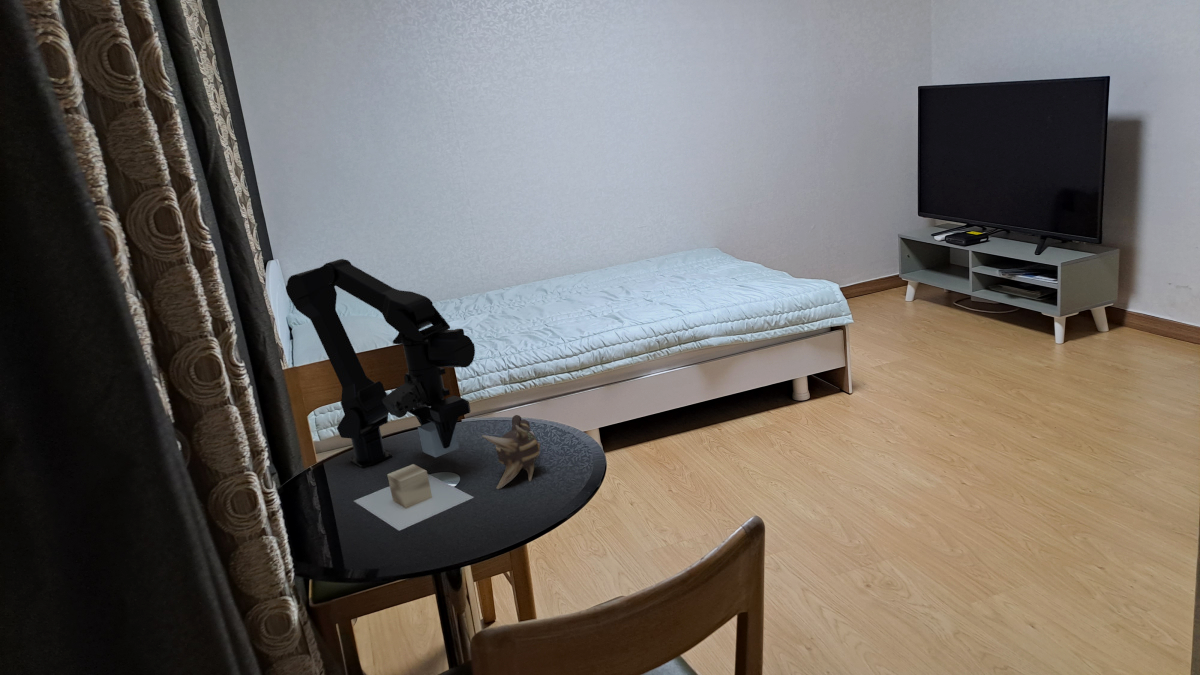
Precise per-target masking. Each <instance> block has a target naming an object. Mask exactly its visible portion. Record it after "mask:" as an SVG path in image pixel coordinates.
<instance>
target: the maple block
mask: <svg viewBox="0 0 1200 675" xmlns="http://www.w3.org/2000/svg"><path fill="white" fill-rule="evenodd" d="M427 474H428V470H426V469H424V468H422V467H420V466H418V465H416V464H414V463H412V464H410V465H408V466H405V467H402V468H399V469H397V470H394V471H392V472H389V473H387V474H386V475H387V479H388V485H389V486H390V489H391V494H392V498H393V501H394V502H396V503H398V504H399V505H401V506H403V507H404V508H409V507H411V506H413V505H416V504H418V503H420V502H423V501H425V500H427V499H430V498H432V494H431V489H430V484H429V480H428V475H427Z"/></svg>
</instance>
